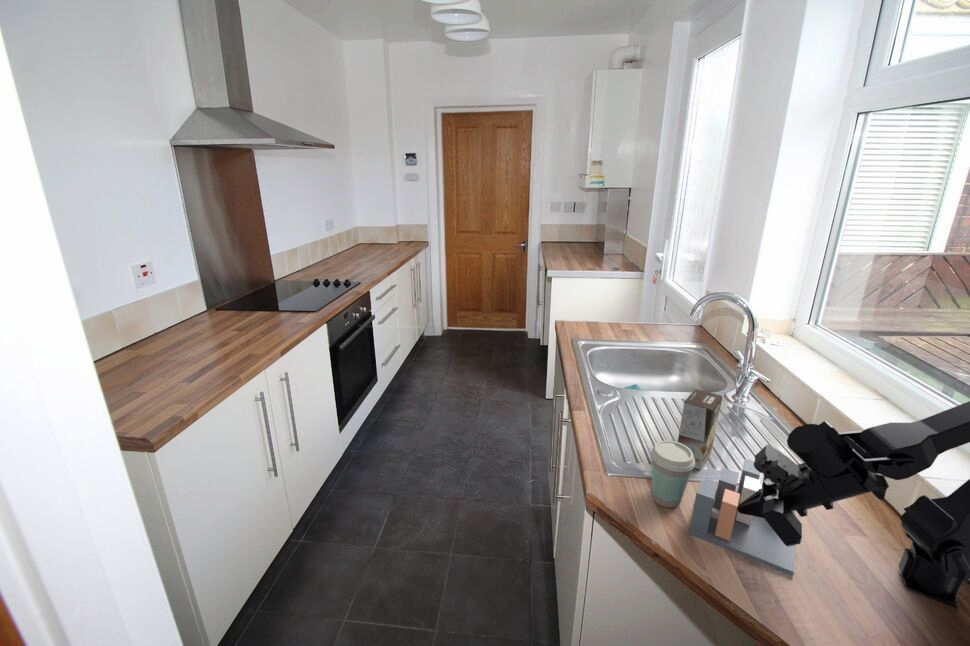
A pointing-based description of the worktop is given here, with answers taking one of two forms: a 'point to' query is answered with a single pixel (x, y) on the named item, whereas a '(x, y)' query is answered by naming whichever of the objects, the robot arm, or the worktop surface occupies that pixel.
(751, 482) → the ivory key
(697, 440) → the coffee box
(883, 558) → the worktop surface
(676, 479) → the coffee cup
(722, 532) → the terracotta key
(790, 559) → the grey slotted base
